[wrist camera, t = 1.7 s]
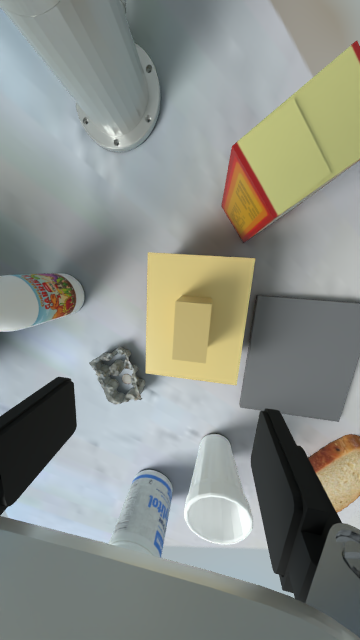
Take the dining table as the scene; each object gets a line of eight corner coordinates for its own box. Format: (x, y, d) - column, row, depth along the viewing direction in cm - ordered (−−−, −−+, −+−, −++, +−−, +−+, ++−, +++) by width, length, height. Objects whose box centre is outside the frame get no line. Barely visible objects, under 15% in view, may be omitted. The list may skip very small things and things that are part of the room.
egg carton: (149, 389, 41) (143, 402, 37) (118, 397, 43) (109, 410, 39) (129, 342, 39) (120, 351, 35) (97, 353, 41) (85, 362, 37)
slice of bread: (368, 431, 36) (385, 448, 33) (371, 505, 40) (386, 529, 37) (265, 438, 40) (270, 455, 36) (276, 506, 44) (282, 527, 40)
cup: (249, 453, 41) (267, 534, 28) (209, 470, 43) (208, 552, 31) (222, 416, 40) (227, 484, 27) (182, 436, 42) (170, 507, 30)
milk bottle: (71, 321, 39) (-60, 371, 20) (41, 294, 39) (-123, 318, 20) (93, 293, 37) (-30, 319, 18) (62, 264, 37) (-99, 258, 18)
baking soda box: (279, 161, 28) (361, 33, 13) (301, 202, 29) (404, 127, 14) (221, 206, 31) (232, 143, 15) (243, 243, 32) (275, 217, 16)
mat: (256, 295, 33) (258, 295, 32) (370, 303, 31) (375, 304, 30) (239, 403, 38) (240, 407, 37) (335, 417, 36) (338, 421, 35)
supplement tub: (181, 485, 46) (168, 582, 31) (157, 505, 48) (135, 603, 34) (148, 460, 45) (120, 546, 31) (125, 481, 48) (90, 570, 34)
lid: (154, 254, 29) (133, 248, 21) (250, 259, 27) (266, 255, 20) (151, 364, 33) (133, 392, 26) (234, 374, 32) (241, 408, 24)
